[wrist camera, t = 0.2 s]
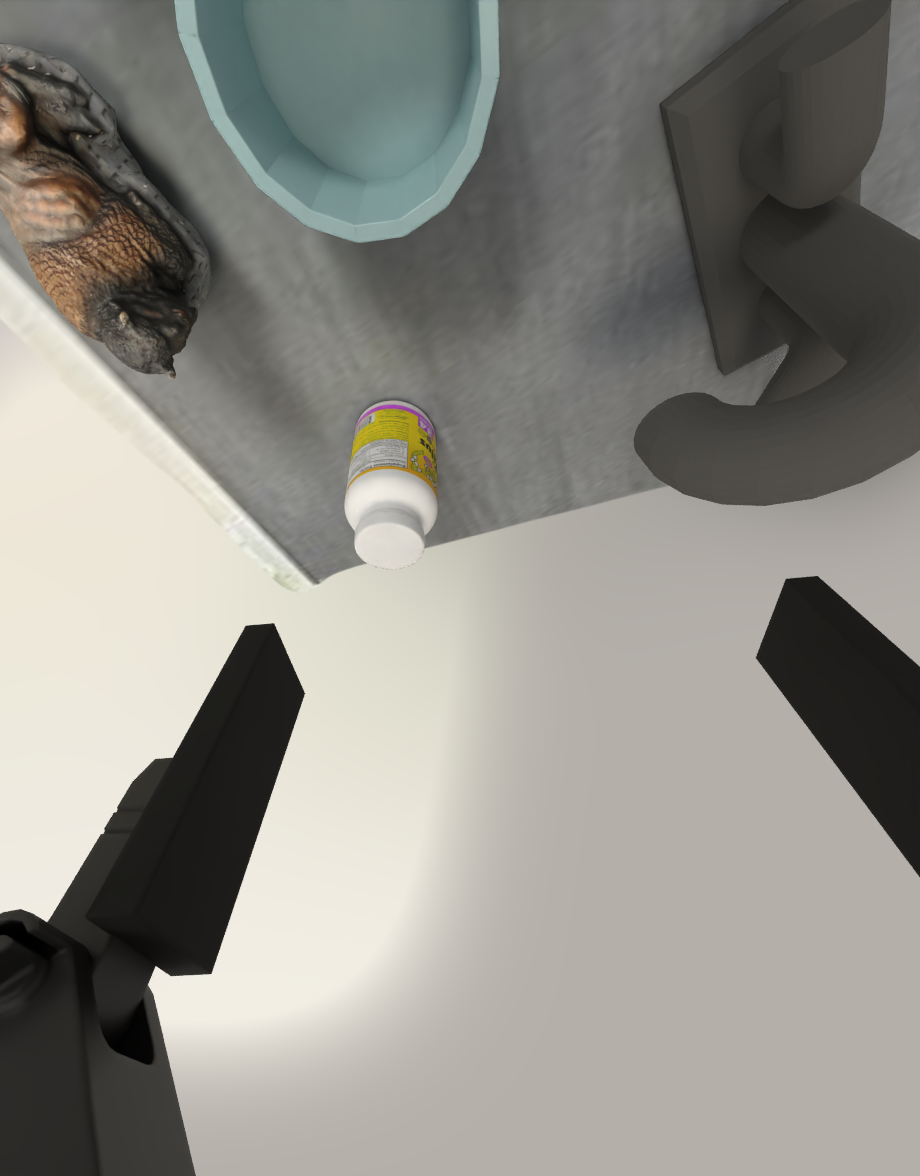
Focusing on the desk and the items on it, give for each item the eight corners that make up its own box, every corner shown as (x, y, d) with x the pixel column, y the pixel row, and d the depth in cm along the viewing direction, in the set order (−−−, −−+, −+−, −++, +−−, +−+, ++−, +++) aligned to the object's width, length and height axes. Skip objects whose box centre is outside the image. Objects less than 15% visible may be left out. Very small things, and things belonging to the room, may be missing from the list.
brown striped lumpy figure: (-38, 98, 22) (-203, 150, 17) (46, -12, 20) (-113, 3, 14) (183, 325, 31) (127, 413, 25) (261, 268, 29) (218, 350, 23)
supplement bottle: (437, 464, 42) (440, 577, 34) (362, 465, 41) (349, 580, 34) (434, 394, 36) (437, 511, 29) (348, 396, 36) (328, 514, 28)
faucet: (525, 196, 27) (606, 391, 15) (853, -71, 20) (1483, -102, 8) (624, 422, 39) (711, 625, 27) (847, 305, 32) (1091, 509, 20)
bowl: (293, -350, 15) (239, -476, 11) (535, 7, 21) (564, 22, 17) (192, 62, 22) (134, 89, 17) (396, 241, 28) (391, 295, 24)
